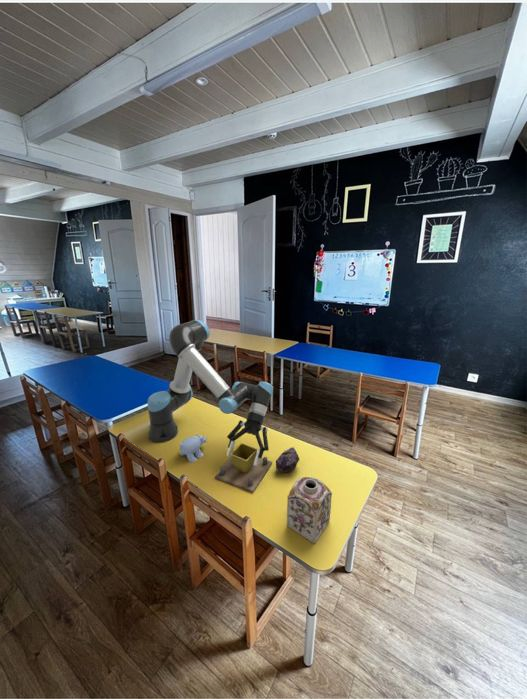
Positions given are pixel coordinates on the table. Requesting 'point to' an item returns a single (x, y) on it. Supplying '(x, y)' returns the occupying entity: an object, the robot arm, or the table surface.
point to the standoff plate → (244, 474)
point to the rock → (287, 460)
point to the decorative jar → (309, 507)
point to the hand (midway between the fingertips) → (241, 460)
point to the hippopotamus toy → (192, 447)
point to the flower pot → (243, 457)
